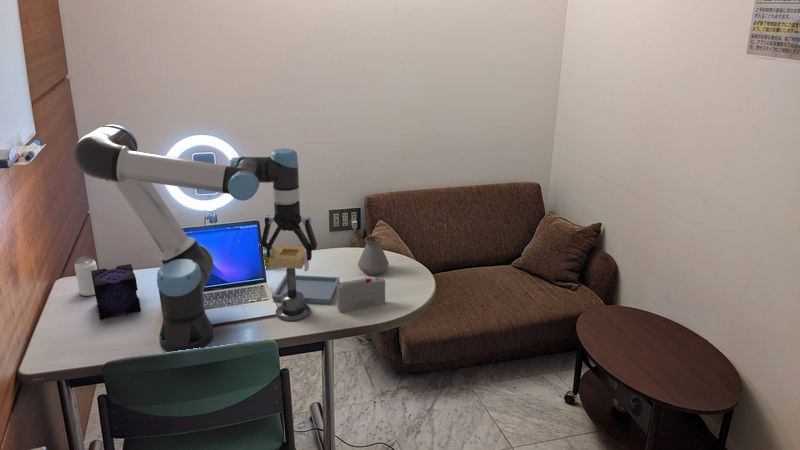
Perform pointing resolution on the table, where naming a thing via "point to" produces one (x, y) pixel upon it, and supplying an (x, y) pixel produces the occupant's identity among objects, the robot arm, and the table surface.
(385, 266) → the coffee pot
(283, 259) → the ring
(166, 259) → the robot arm
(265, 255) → the supplement bottle
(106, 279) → the energy cube
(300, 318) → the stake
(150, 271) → the table surface
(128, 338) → the table surface
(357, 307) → the cassette player
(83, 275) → the can
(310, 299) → the tray
